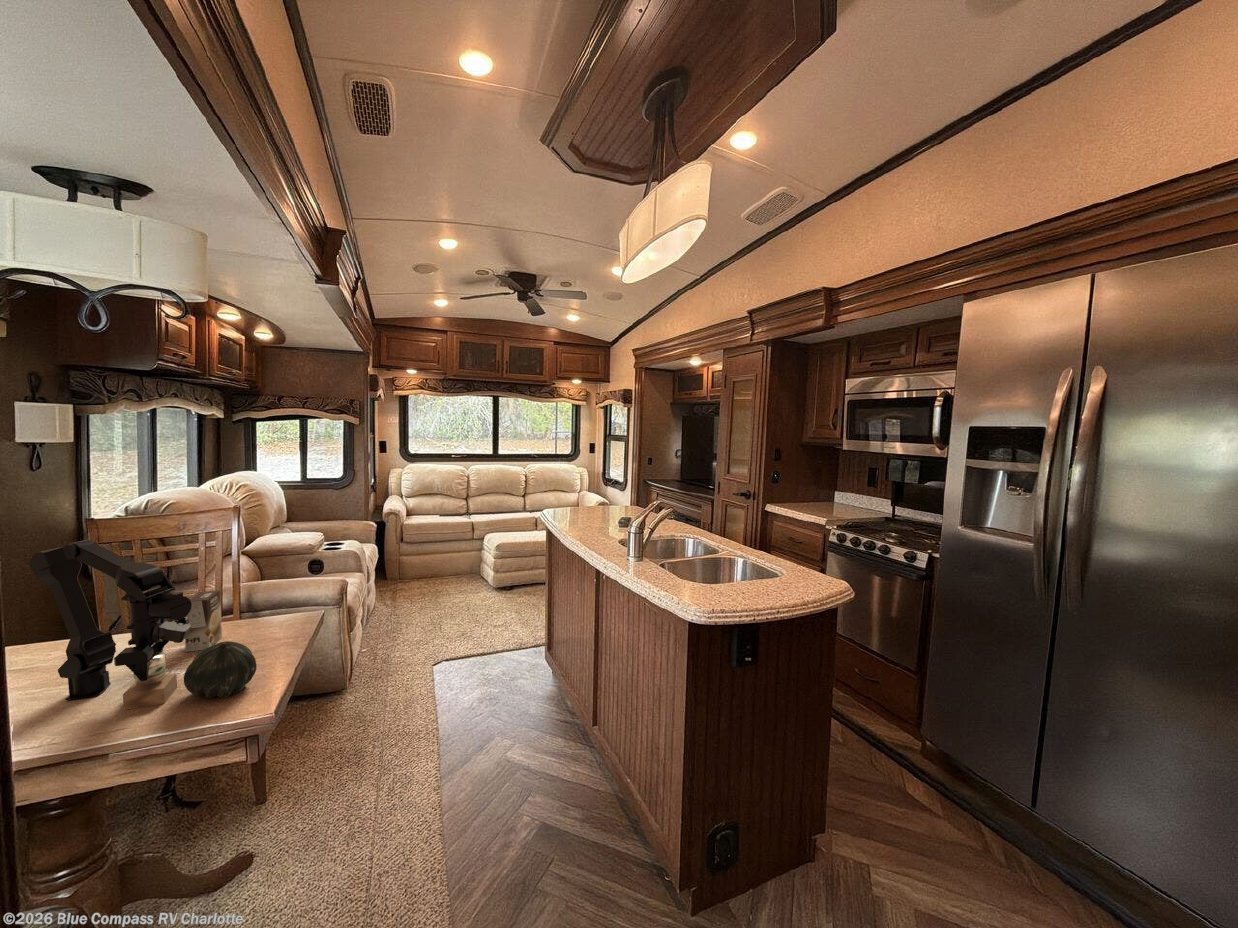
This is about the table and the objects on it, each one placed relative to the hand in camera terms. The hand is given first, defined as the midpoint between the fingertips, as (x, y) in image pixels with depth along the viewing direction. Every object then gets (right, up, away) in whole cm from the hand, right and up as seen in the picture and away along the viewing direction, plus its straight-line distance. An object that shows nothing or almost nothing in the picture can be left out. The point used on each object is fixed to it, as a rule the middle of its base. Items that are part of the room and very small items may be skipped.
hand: (149, 674), depth 130 cm
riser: (0, -6, +1) cm, 6 cm away
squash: (+15, -7, +5) cm, 17 cm away
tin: (0, -1, 0) cm, 1 cm away
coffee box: (-11, -3, +31) cm, 33 cm away
